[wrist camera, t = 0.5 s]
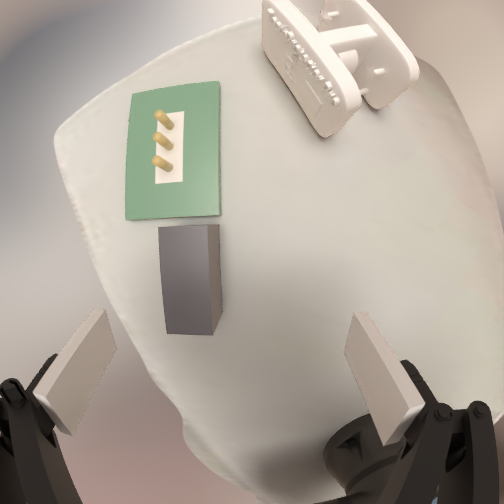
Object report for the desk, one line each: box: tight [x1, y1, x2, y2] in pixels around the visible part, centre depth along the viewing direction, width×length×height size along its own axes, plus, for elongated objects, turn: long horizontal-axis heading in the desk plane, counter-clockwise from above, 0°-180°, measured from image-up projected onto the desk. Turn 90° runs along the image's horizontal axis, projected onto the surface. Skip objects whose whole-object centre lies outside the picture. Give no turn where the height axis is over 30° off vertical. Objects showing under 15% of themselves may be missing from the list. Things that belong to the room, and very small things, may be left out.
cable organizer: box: [262, 0, 419, 138], centre depth 22 cm, size 15×11×12 cm
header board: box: [125, 81, 221, 220], centre depth 27 cm, size 16×11×6 cm
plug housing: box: [158, 225, 223, 335], centre depth 27 cm, size 10×4×7 cm, turn 1°
